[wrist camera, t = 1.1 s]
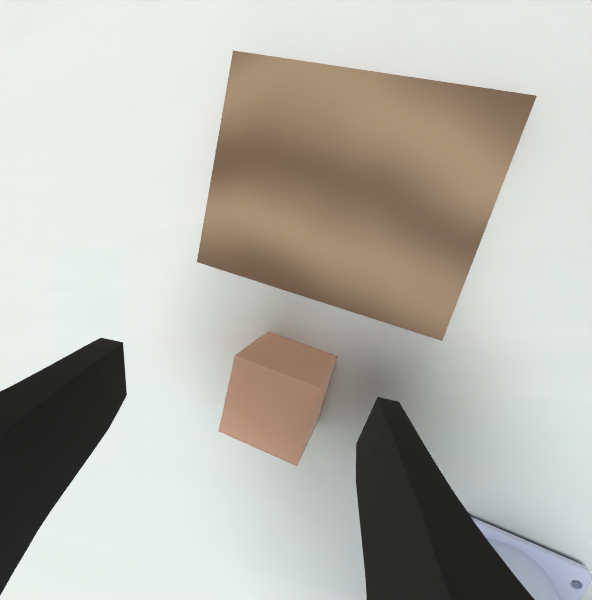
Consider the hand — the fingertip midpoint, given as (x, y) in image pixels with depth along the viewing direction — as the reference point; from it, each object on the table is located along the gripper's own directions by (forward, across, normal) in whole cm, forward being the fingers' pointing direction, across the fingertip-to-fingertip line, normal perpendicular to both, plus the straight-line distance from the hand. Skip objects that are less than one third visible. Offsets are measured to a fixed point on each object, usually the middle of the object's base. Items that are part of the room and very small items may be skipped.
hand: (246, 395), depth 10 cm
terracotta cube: (+9, -2, +7) cm, 12 cm away
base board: (+12, -2, -3) cm, 13 cm away
